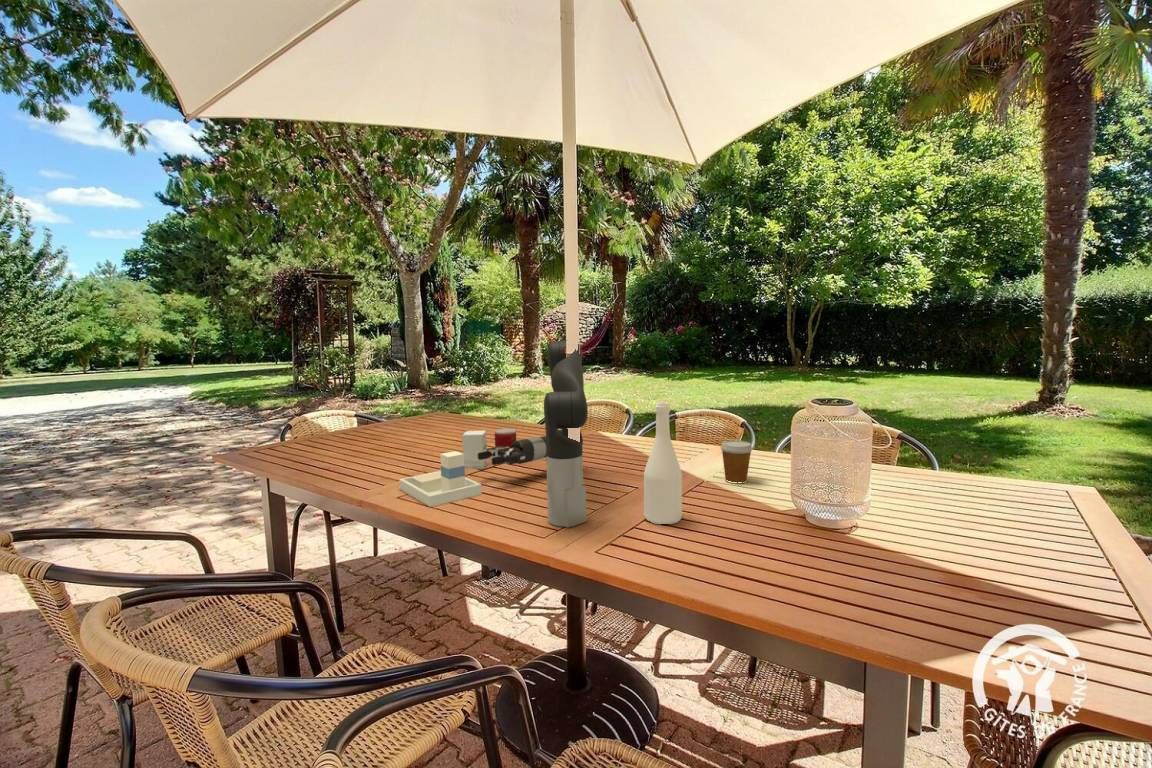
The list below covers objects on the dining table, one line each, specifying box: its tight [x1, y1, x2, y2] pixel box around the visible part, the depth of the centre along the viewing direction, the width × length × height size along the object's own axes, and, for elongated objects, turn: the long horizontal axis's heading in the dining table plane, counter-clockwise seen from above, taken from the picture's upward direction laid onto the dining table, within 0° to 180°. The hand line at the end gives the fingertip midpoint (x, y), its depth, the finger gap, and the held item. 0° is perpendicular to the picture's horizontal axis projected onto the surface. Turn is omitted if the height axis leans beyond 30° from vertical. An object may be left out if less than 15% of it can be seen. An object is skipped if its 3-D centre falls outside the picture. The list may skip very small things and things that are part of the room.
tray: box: [398, 470, 483, 508], centre depth 159 cm, size 22×16×4 cm
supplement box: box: [461, 430, 488, 470], centre depth 188 cm, size 7×7×13 cm
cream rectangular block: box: [411, 471, 442, 493], centre depth 162 cm, size 7×10×4 cm
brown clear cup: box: [720, 439, 753, 483], centre depth 165 cm, size 10×10×12 cm
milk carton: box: [439, 450, 466, 492], centre depth 156 cm, size 5×5×12 cm
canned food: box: [494, 428, 517, 456], centre depth 198 cm, size 8×8×11 cm
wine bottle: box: [643, 401, 683, 525], centre depth 134 cm, size 10×10×30 cm
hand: (485, 459), depth 162 cm, fingers open, 8 cm apart
